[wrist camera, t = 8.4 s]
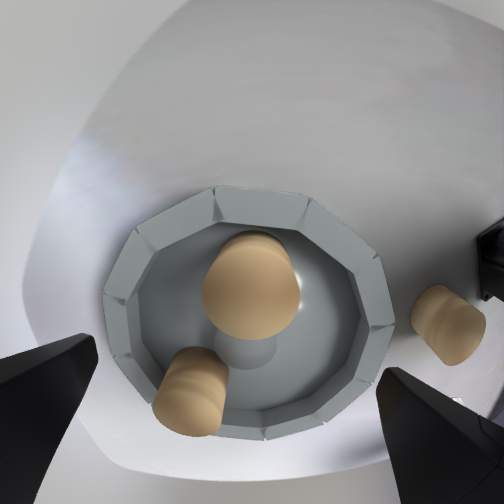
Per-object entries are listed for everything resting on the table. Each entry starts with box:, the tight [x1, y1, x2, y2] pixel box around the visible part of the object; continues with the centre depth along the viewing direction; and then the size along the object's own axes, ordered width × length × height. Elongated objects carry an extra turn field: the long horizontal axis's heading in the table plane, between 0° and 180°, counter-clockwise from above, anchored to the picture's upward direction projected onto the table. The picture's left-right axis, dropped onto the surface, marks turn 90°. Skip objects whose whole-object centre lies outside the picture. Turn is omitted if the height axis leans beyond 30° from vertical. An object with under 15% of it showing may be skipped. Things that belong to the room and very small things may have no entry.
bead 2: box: [202, 230, 300, 340], centre depth 15 cm, size 4×4×5 cm
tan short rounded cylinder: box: [152, 346, 229, 437], centre depth 17 cm, size 4×4×5 cm
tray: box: [102, 186, 395, 441], centre depth 18 cm, size 19×19×3 cm
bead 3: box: [410, 285, 486, 366], centre depth 16 cm, size 4×4×5 cm
